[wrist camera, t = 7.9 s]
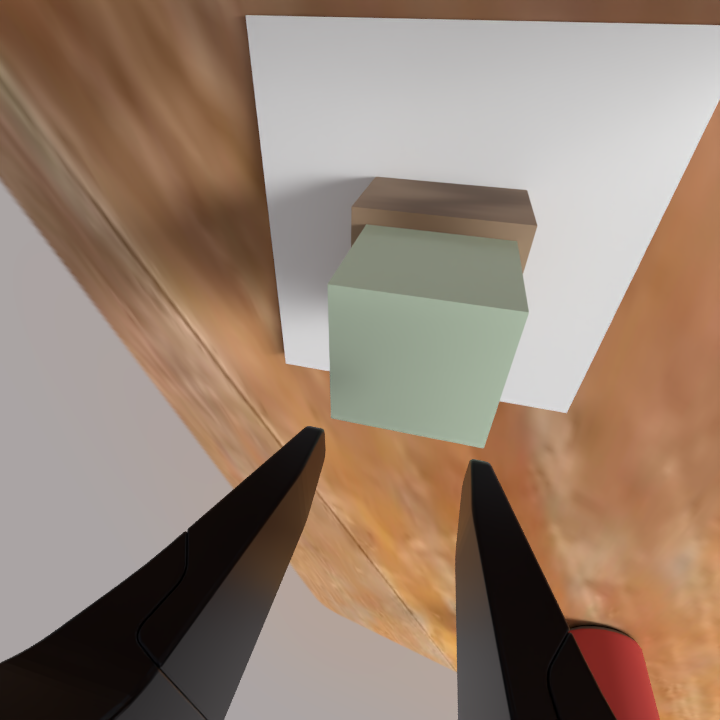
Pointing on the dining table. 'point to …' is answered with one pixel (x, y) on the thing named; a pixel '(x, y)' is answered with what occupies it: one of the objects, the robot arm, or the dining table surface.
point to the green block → (424, 331)
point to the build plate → (482, 155)
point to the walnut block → (447, 210)
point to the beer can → (618, 671)
